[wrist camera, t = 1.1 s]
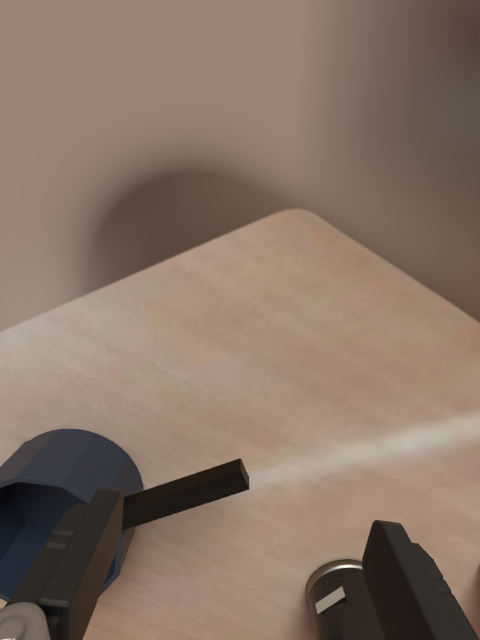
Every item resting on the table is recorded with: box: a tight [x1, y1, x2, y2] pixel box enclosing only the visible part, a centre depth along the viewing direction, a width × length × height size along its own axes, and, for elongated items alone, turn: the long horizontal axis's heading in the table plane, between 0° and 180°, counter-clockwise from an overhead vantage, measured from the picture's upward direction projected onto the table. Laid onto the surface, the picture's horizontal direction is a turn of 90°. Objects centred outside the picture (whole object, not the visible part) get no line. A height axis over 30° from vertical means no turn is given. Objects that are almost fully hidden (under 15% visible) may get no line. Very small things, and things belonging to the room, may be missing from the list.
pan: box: [0, 429, 249, 602], centre depth 36 cm, size 15×28×8 cm, turn 111°
